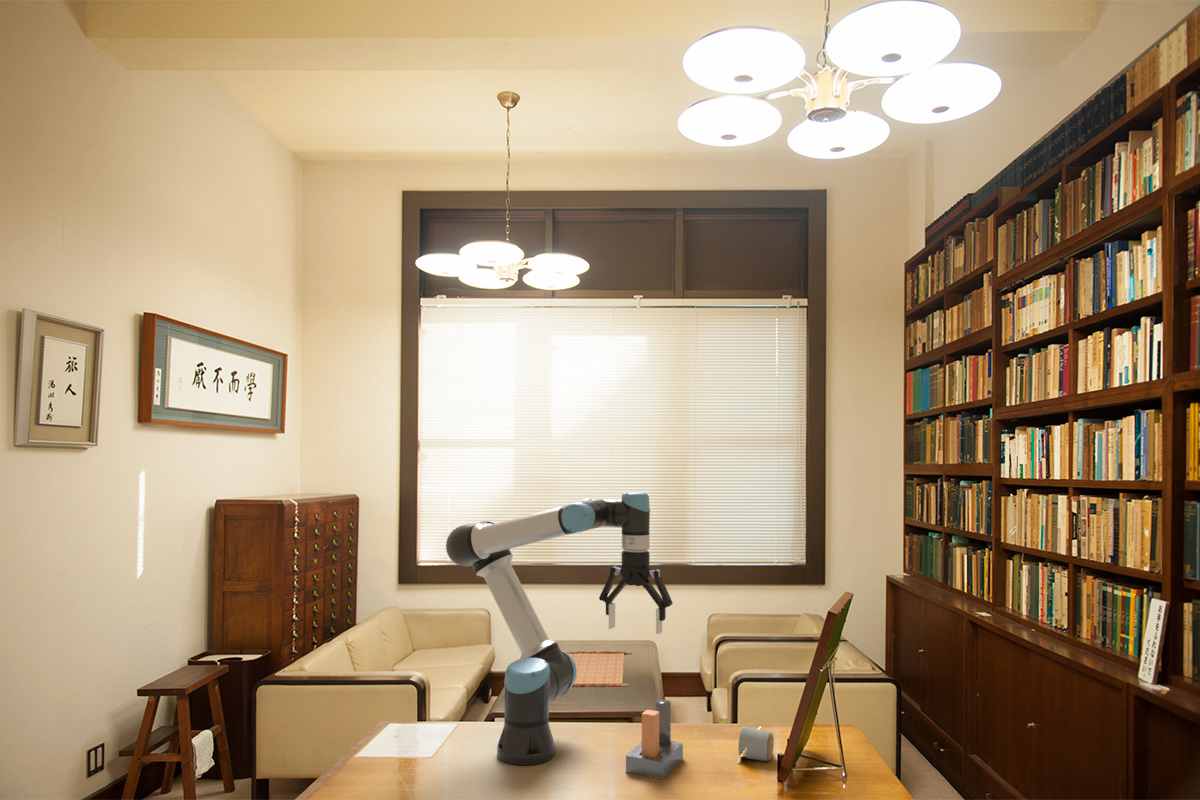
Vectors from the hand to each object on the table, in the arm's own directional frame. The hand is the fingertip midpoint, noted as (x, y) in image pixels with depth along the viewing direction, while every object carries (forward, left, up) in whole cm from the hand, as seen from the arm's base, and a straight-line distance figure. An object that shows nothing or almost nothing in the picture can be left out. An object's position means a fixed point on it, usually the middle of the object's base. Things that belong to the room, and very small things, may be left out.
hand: (635, 630), depth 212 cm
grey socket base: (+8, -6, -32) cm, 33 cm away
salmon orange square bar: (+8, -9, -32) cm, 34 cm away
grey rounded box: (+30, +11, -32) cm, 45 cm away
